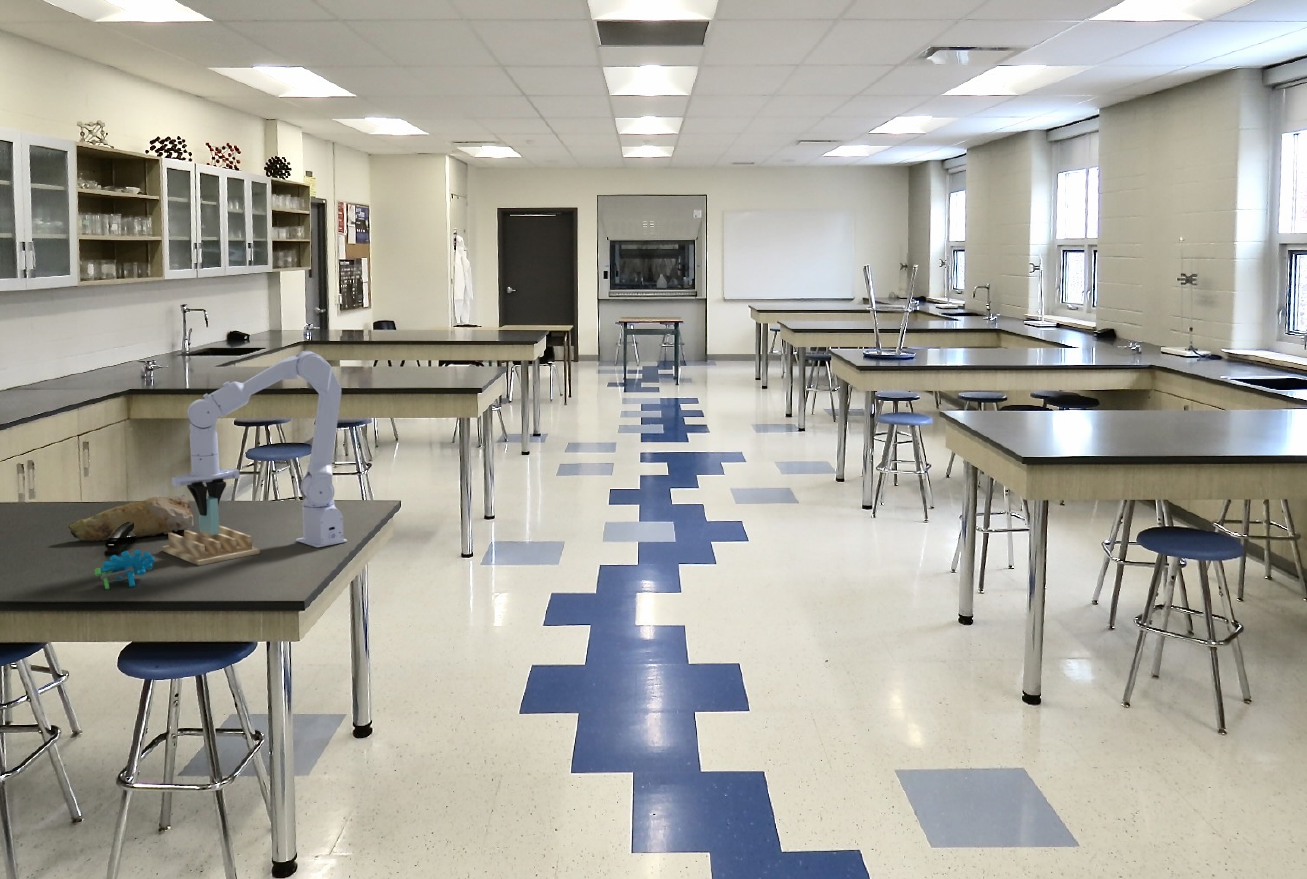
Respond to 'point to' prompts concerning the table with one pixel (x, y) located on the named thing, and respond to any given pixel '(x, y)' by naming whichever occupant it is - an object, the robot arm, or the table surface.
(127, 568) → the toy stegosaurus
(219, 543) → the rack
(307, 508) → the robot arm
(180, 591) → the table surface
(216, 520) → the teal rectangular block
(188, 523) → the mineral
